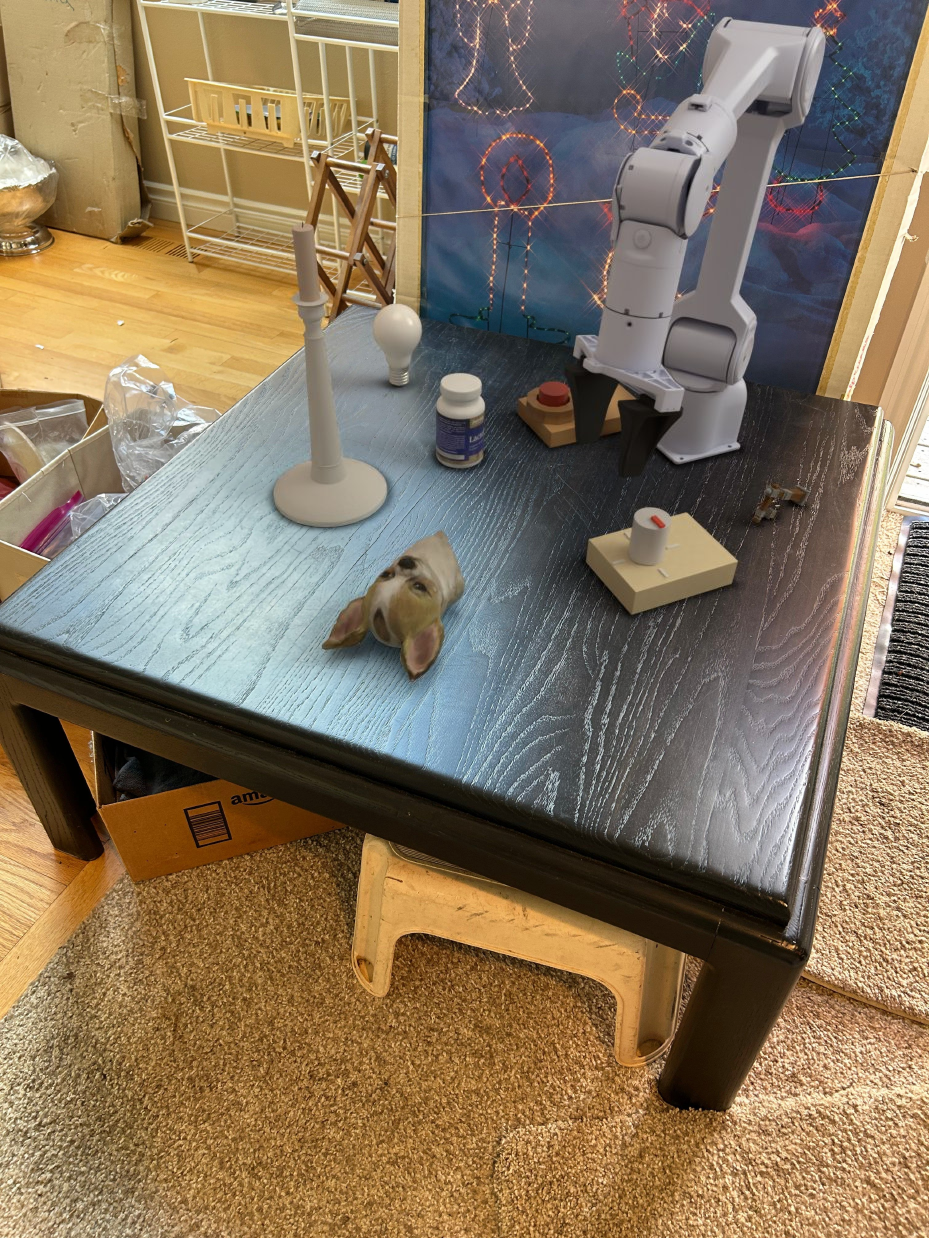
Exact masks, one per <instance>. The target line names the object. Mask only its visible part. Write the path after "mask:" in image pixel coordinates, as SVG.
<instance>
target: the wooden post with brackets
mask: <svg viewBox="0 0 929 1238" xmlns="http://www.w3.org/2000/svg"><path fill="white" fill-rule="evenodd" d="M810 493H811V491H810V490H808V489H806V488H805V487H802V486H801V485H799V484H796V485H795V486H794V488H793V489H787V488H783V487H780V486H779V484H777V483H773V484H771V486H770V485H767V486H766V488H765V490H764V492H763V494H764V495H765V497H764V499H763V500H762V502H761V504H760V506H759V507H758V508H757V509H756V511H755V513H754V516H753V518H752V521H753V522H754V523H757V524H759V523H760V522H761V520H762V518H765V519H767V520H770V518H771V519H774V518H775V517H776V515H777V513H778V511H777V510H776V509H774V508H772V507H769V506H770V505H771V504H772V503H773V502H774V501H775V500H776V499H780V500H784V501H785V500H786V501H792V502H794V503H795V504H797V505H799V506H801V507H803V506H804V505H805V503H806V501H807V499H808V497H809V496H810V495H811V494H810Z"/></svg>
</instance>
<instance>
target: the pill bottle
mask: <svg viewBox="0 0 929 1238" xmlns="http://www.w3.org/2000/svg"><path fill="white" fill-rule="evenodd" d="M439 386H440V388H439V392H440V394H441V395H440V396H439V397H438V399H437V400H436V406H435V456H436V458H437V461H439V462H440V463H441V464H443V465H444V466H446V467H449V468H452V469H468V468H472V467H474V466H477V465H478V464H479V463H480V462H481V461H482V460H483V458H484V451H485V450H484V449H485V448H484V447H485V446H484V445H485V420H486V419H485V418H486V403H485V401H484V398H482V396H481V394H482V390H483V389H482V387H483V385H482V381H481V379H480V378H479V377H478V376H475V375H473V374H470V373H466V372H465V373H463V372H458V373H457V372H455V373H449V374H447V375H445V376H443V377H442V379H440V385H439Z"/></svg>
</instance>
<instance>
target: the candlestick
mask: <svg viewBox="0 0 929 1238" xmlns="http://www.w3.org/2000/svg"><path fill="white" fill-rule="evenodd" d="M291 235H292V241H293V252H294V260H295V269H296V276H297V278H296V279H297V285H298V287H297V288H298V292H297V293H295V294H293V295H292V296H291V299H290V300H291V302H292V303H293V304H295V305H296V306H297V315H298V317H299V318H300V319H301V320H302V323H303V325H304V328H305V329H304V332H303V334H302V336H303V339H304V342H303V343H304V356H305V357H304V358H305V372H306V389H307V391H306V393H307V405H308V406H307V407H308V421H309V425H308V426H309V439H310V441H309V442H310V459H309V460H306V461H303V462H301V463H298V464H296V465H294V466H293V467H291V468H289V469H288V470H287V471H286V472H284V473H283V474H282V475H281V476H280V477H279V478H278V480H277V481H276V483H275V485H274V487H273V494H272V495H273V502H274V505H275V507H276V509H277V510H278V511H279V512H280V514H281V515H283V516H284V517H285V518H287V519H289V520H290V521H292V522H295V523H297V524H301V525H304V526H309V527H315V528H316V527H317V528H334V527H335V528H336V527H343V526H348V525H352V524H354V523H358V522H361V521H363V520H365V519H367V518H369V517H370V516H372V515H373V514H375V513H376V512H377V511H378V510H379V509H380V508H381V507H382V506H383V505H384V503H385V502H386V499H387V496H388V485H387V481H386V479H385V477H384V475H382V473H381V472H380V471H379V470H378V469H376V468H375V467H373V466H372V465H370V464H369V463H366V462H364V461H362V460H359V459H355V458H352V457H345V456H344V455H343V450H342V445H341V438H340V437H341V436H340V430H339V425H338V424H339V423H338V419H337V412H336V405H335V398H334V393H333V391H334V390H333V385H332V379H331V372H330V365H329V359H328V353H327V346H326V339H325V336H326V334H325V332H324V331H323V328H322V323H323V318H324V317H325V315H326V309H325V304H326V302H328V301H329V298H330V296H329V295H328V294H327V293H326V292H324V291H320V290H321V289H320V280H319V270H318V269H319V268H318V259H317V251H316V250H317V248H316V240H315V238H316V237H315V229H314V226H313V225H312V224H310V223H304V222H303V221H302V222H301V223H297V224H294V225H293V226H291Z"/></svg>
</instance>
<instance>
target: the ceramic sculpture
mask: <svg viewBox="0 0 929 1238" xmlns="http://www.w3.org/2000/svg"><path fill="white" fill-rule="evenodd" d="M465 589H466V580H465V578H464V577H463V574H462V570H461V567H460V564H459V562H458V559H457V558H456V555H455V552H454V549H453V547H452V545H451V543H450V541H449V540H448V537H447V534H446V532H445V531H444V530H442V529H440V530H438V531H436V532H435V533H434V534H431V535H429V536H426V537H424V538H422V539H419V540H417V541H416V542H415V543H414V544H412V545H411V546H409V547H408V548H407V549H406V550H405V551H403V553H402V554H401V555H400V556H398V557H397V558H395V559H394V560H393V562H392V563H391V564H390V566H388V567H386V568H385V569H384V570H383V571H382V572H380V573H379V575H378V576H377V578H375V580H374V582H373V583H372V584H371V585H369V587H368V589H367V591H366V593H365V595H363V596H359V597H357V598H355V599H353V600H350V601H349V602H348V604H347V605H346V607H345V608H344V609H342V610H341V611H340V612H339V614H338V616H337V618H336V622H335V623H334V624H333V626H332V629H331V631H330V633H329V636H328V638H327V639H326V640H324V642H323V644H322V645H321V649H322V650H324V651H330V650H331V651H332V650H339V649H340V650H341V649H346V648H351V647H357V646H359V645H360V644H362V643H363V642H364V640H365V639H366V637H367V635H368V633H370V631H371V632H372V634H373V636H374V637H375V639H376V640H377V641H378V642H380V643H382V644H384V645H386V646H389V647H393V648H399V649H400V648H401V649H400V659H399V660H400V663H401V665H402V667H403V668H404V670H405V672H406V674H407V677H408V681H409V682H410V683H414V682H415V681H417V680H418V679H420V678H421V677H423V676H424V675H426V674H427V673H428V672H429V671H430V669H431V668H432V667H433V666H434V665H435V663H436V661H437V660H438V657H439V655H440V652H441V650H442V648H443V643H444V640H445V639H446V638H445V637H446V635H445V627H444V625H443V623H442V620H441V618H442V616H443V615H444V613H445V612H446V608H448V607H451V606H453V605H455V604H456V603H457V602H459V600H460V599H462V597H463V595H464V593H465Z"/></svg>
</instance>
